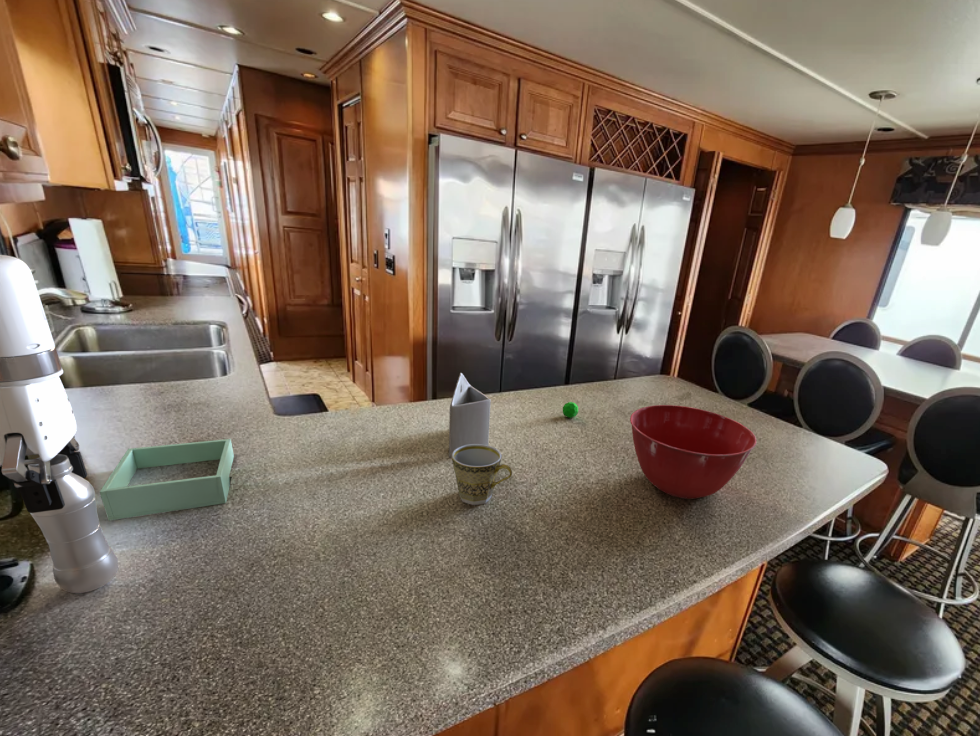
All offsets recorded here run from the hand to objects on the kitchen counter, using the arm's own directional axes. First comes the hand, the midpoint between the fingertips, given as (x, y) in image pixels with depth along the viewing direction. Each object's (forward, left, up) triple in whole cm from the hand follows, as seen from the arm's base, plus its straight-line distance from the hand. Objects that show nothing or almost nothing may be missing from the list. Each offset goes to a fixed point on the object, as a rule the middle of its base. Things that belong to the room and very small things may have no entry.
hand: (60, 492), depth 60 cm
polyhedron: (+101, +38, -15) cm, 109 cm away
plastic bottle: (0, 0, -15) cm, 15 cm away
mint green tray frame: (+6, +25, -15) cm, 30 cm away
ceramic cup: (+60, +3, -15) cm, 62 cm away
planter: (+66, +27, -15) cm, 73 cm away
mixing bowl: (+107, -6, -15) cm, 108 cm away
